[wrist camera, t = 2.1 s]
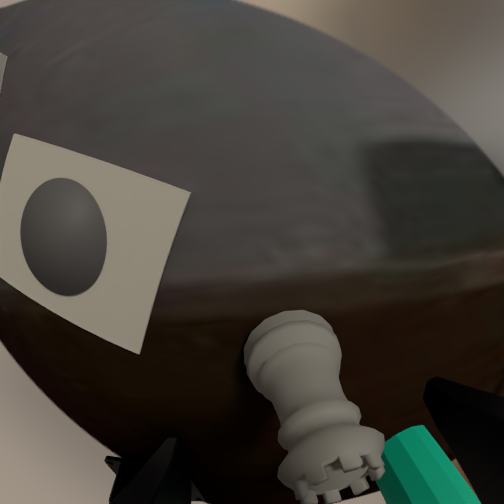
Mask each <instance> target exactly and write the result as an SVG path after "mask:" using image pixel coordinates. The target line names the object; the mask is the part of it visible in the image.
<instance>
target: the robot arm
mask: <svg viewBox="0 0 504 504" xmlns="http://www.w3.org/2000/svg"><path fill="white" fill-rule="evenodd" d="M423 399H424V402H425V404H426V406H427V408H428V410H429V412H430V414H431V416H432V418H433V420H434V422H435V425H436V426H437V428H438V430H439V432H440V433H441V435H442V437H443V438H444V440H445V441H446V443H447V445H448V446H449V448H450V449H451V451H452V453H453V454H454V456H455V458H456V459H457V461H458V463H459V465H460V466H461V468H462V470H463V471H464V473H465V475H466V477H467V478H468V480H469V482H470V484H471V486H472V487H473V489H474V491H475V493H476V495H477V497H478V499H479V501H480V502H481V504H504V397H503V396H499V395H496V394H492V393H489V392H485V391H482V390H478V389H475V388H472V387H468V386H465V385H462V384H459V383H456V382H453V381H449V380H446V379H443V378H440V377H434V378H432V379H430V380H428V382H427V384H426V388H425V391H424V395H423ZM105 462H106V464H108V466H109V467H110V468H111V469H112V470H113V472H114V473H115V474H116V478H115V481H114V484H113V487H112V491H111V494H110V497H109V504H191V501H204V500H205V495H204V494H203V492H202V491H201V489H200V488H199V486H198V485H197V484H196V482H195V480H194V479H193V477H192V476H191V474H190V473H189V458H188V451H187V448H186V447H185V445H184V443H183V441H182V439H181V438H180V437H168V438H167V439H166V440H165V441H164V443H163V444H162V445H161V446H160V447H159V449H158V450H157V451H156V452H155V453H154V454H153V456H152V457H151V458H150V459H149V460H148V461H147V460H136V459H127V458H120V457H113V456H106V458H105Z"/></svg>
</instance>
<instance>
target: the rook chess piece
mask: <svg viewBox="0 0 504 504" xmlns="http://www.w3.org/2000/svg"><path fill="white" fill-rule="evenodd" d="M341 356H342V354H341V349H340V346H339V342H338V339H337V336H336V335H335V334H334V333H333V330H332V327H331V326H330V325H329V324H328V323H327V322H326V321H325V320H324V319H323V318H322V317H321V316H320V315H317V314H314V313H311V312H308V311H304V310H297V311H283V312H281V313H279V314H276V315H274V316H272V317H269V318H267V319H265V320H264V321H263V322H262V323H261V324H259V325H258V326H257V327H256V328H255V329H254V330H253V331H252V332H251V333H250V336H249V338H248V340H247V342H246V344H245V346H244V364H245V365H246V367H247V375H248V377H249V378H250V380H251V382H252V383H253V385H254V387H255V388H256V390H257V391H258V392H260V393H262V394H263V395H264V397H265V398H267V399H268V400H270V401H271V402H272V403H273V406H274V408H275V410H276V412H277V415H278V417H279V420H280V424H281V428H280V430H279V432H278V442H279V443H280V445H281V446H282V447H283V449H286V450H288V454H287V456H286V457H285V459H284V460H283V462H282V463H281V465H280V466H279V468H278V475H277V478H278V479H279V480H280V481H281V482H282V483H283V484H284V485H286V486H287V487H289V488H291V489H292V490H294V492H295V497H296V500H299V499H300V502H301V504H317V503H318V500H317V496H316V495H322V496H323V499H324V502H325V504H333V503H337V502H341V496H340V494H339V490H342V489H344V488H347V487H349V486H351V489H352V491H353V494H355V495H358V494H360V493H362V492H363V491H365V490H367V489H368V488H370V486H369V484H368V482H367V480H366V478H365V477H366V476H367V475H368V474H369V476H370V478H371V480H372V481H374V480H378V479H380V478H381V477H382V475H383V474H384V472H385V469H384V467H383V466H384V465H385V464H384V462H383V461H382V459H381V455H382V452H383V449H384V445H385V441H384V434H382V433H380V432H379V431H377V430H375V429H373V428H369V427H364V426H360V425H359V421H360V418H361V414H360V410H359V407H357V406H356V405H354V404H353V403H351V402H350V401H347V399H346V397H345V395H344V393H343V391H342V388H341V385H340V382H339V378H338V376H339V371H340V362H341Z"/></svg>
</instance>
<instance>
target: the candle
mask: <svg viewBox="0 0 504 504" xmlns="http://www.w3.org/2000/svg"><path fill="white" fill-rule="evenodd" d="M381 459H382V461H383V462H384V464H385V465H384V466H383V467H384V469H385V472H384V474H383V475H382V477H381V478H380V479H378V480H375V481H376V483H377V485H378V487H379V489H380V491H381V493H382V495H383V497H384V499H385V501H386V503H387V504H481V502H480V501H479V499H478V498H477V497H476V495H475V494H474V493H473V491H472V490H471V488H470V487H469V486H468V484H467V483H466V481H465V480H464V479H463V477H462V476H461V475H460V473H459V472H458V470H457V469H456V468H455V466H454V465H453V464H452V462H451V461H450V460H449V458H448V457H447V456H446V454H445V453H444V452H443V450H442V449H441V448H440V446H439V445H438V444H437V442H436V441H435V440H434V438H433V437H432V436H431V434H430V433H429V432H428V431H427V429H426V428H425V427H424V425H420V426H412V427H410V428H408V429H406V430H404V431H402V432H400V433H398V434H396V435H394V436H393V437H392V438H390V439H389V440H388V441H386V442H385V445H384V449H383V452H382V455H381Z"/></svg>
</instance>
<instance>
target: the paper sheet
mask: <svg viewBox="0 0 504 504" xmlns="http://www.w3.org/2000/svg"><path fill="white" fill-rule="evenodd" d="M190 196H191V192H188V191H185V190H183V189H180V188H177V187H175V186H172V185H169V184H166V183H164V182H161V181H158V180H155V179H153V178H150V177H147V176H144V175H142V174H139V173H136V172H133V171H130V170H127V169H124V168H122V167H119V166H116V165H113V164H110V163H107V162H104V161H101V160H98V159H95V158H92V157H89V156H86V155H83V154H80V153H77V152H74V151H71V150H68V149H64V148H61V147H58V146H55V145H52V144H48V143H45V142H42V141H39V140H35V139H32V138H29V137H25V136H22V135H18V134H14V135H13V138H12V141H11V145H10V148H9V151H8V155H7V158H6V162H5V165H4V169H3V173H2V178H1V182H0V277H1V278H2V279H3V280H5V281H6V282H7V283H9V284H10V285H12V286H13V287H15V288H16V289H17V290H19V291H20V292H22V293H23V294H25V295H26V296H28V297H30V298H31V299H33V300H34V301H36V302H37V303H39V304H41V305H42V306H44V307H46V308H47V309H49V310H51V311H52V312H54V313H56V314H57V315H59V316H61V317H63V318H65V319H66V320H68V321H70V322H72V323H74V324H76V325H77V326H79V327H81V328H83V329H85V330H87V331H89V332H91V333H93V334H95V335H97V336H99V337H101V338H103V339H105V340H107V341H110V342H112V343H114V344H116V345H118V346H120V347H123V348H125V349H127V350H130V351H132V352H134V353H137V354H140V352H141V349H142V345H143V341H144V338H145V334H146V330H147V326H148V323H149V319H150V315H151V312H152V308H153V305H154V301H155V298H156V295H157V291H158V288H159V285H160V282H161V278H162V275H163V272H164V269H165V266H166V263H167V260H168V257H169V254H170V251H171V248H172V245H173V242H174V239H175V236H176V233H177V231H178V228H179V225H180V222H181V220H182V217H183V214H184V211H185V209H186V206H187V203H188V201H189V198H190Z"/></svg>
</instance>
